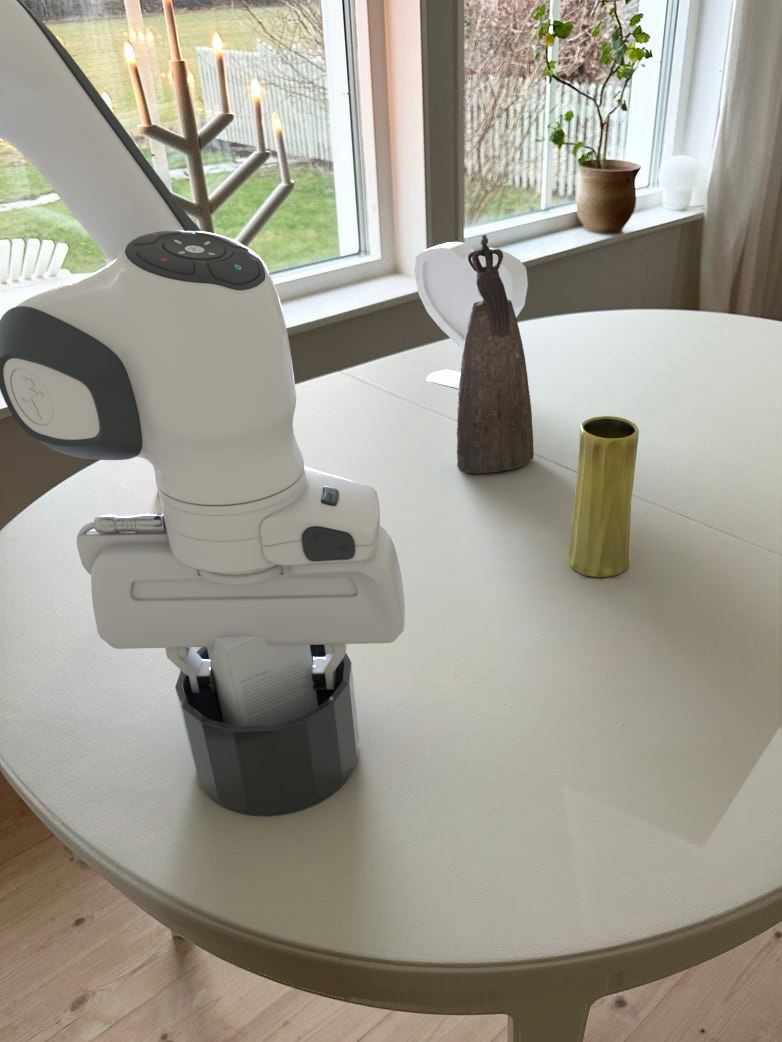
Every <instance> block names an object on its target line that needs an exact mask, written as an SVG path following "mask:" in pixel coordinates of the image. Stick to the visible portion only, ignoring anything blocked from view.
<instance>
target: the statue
mask: <svg viewBox="0 0 782 1042" xmlns="http://www.w3.org/2000/svg"><path fill="white" fill-rule="evenodd" d="M481 238H482V239H480V245H481V247H480V248H481V249H478V250H477V249H476V250H474V251H473V252H471V253H470V254H468V262H469V264H470V266H471V267H472V268H473V269H474V271H476V272H477V274H476V277H477V279H476V286H477V290H478V293H479V294H480V296H481V297H482V298H483V300H482V301H479V302H476V303H474V304H473V306H472V310H471V314H470V318H469V323H468V327H467V333H466V338H465V344H464V350H463V356H462V355H461V361H460V362H461V364H460V366H461V367H460V373H461V374H460V383H459V389H458V392H457V393H458V394H457V396H458V398H457V400H458V401H457V419H456V422H457V424H456V425H457V426H456V441H457V442H456V460H457V463H456V466H457V468H458V470H459V471H461V472H465V473H466V474H477V475H479V474H488V473H497V472H503V471H504V472H505V471H510V470H515V469H517V468H520V467H522V466H524V465H527V464H528V463H529V462H531V461H533V459H534V458H535V453H534V451H535V450H534V449H535V448H534V429H533V413H532V404H531V403H532V401H531V395H530V386H529V379H528V378H529V377H528V371H527V363H526V362H527V361H526V356H525V351H524V344H523V341H522V335H521V332H520V327H519V323H518V319H517V318H516V316H515V312H514V309H513V305H512V301H511V300H507V296H506V292H505V288H504V285H503V282H502V280H501V278H500V276H499V271H498V269H499V268H500V265H501V263H502V260H503V252H502V251H503V250H502V249H500V248H496V249H495V250H494V249H493V250H492V249H489V248H490V247H489V246H488V244H489V238H488V236H487V234H483V235H482V236H481ZM501 250H502V251H501ZM493 254H496V255H497V256H498V262H497V264H496V265H495V266H493ZM478 256H484V257H485V260H486V267H482V265H481V263H480V261H479V257H478ZM471 257H472V261H471ZM472 262H473V263H472Z"/></svg>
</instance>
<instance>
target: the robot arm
mask: <svg viewBox="0 0 782 1042" xmlns="http://www.w3.org/2000/svg"><path fill="white" fill-rule="evenodd" d="M0 139H1V140H3V141H4V142H6V143H7V144H9V145H10V146H12V147H13V148H15V149H16V150H17V151H18V152H19V153H20V154H22V155H23V157H25V158H26V159H27V160H28V161H29V162H30V163H31V164H32V165H33V166H34V167H35V168H36V169H37V171H38V172H39V173H40V175H41V176H42V177H43V178H44V180H45V181H46V183H48V185H49V186H50V188H51V189H52V190H53V191H54V193H55V194H56V195H57V196H58V197H59V199H60V200H61V201H62V203H63V204H64V205H65V207H66V208H67V209H68V210H69V212H70V213H71V215H72V216H73V217H74V218H75V220H76V221H77V222H78V223H79V224H80V226H81V227H82V228H83V230H85V232H86V233H87V235H88V236H89V237H90V239H91V240H92V241H93V242H94V244H95V245H96V246H97V248H98V249H99V250H100V251H101V253H102V255H104V256H105V258H106V259H107V260H108V262H109V263H108V264H107V265H105V266H104V267H102V268H101V269H99V270H98V271H96V272H94V273H92V274H90V275H87V276H85V277H82V278H78V279H76V280H74V281H71V282H68V283H65V284H62V285H59V286H57V287H54V288H51V289H48V290H46V291H44V292H41V293H38V294H35V295H33V296H30V297H28V298H27V299H25V300H23V301H22V302H20V303H19V304H17V305H16V306H14V307H11V308H9V309H8V310H6V311H5V313H3V315H2V316H1V317H0V393H1V396H2V398H3V400H4V402H5V404H6V406H7V408H8V410H9V412H10V414H11V415H12V417H13V419H14V420H15V422H16V423H17V424H18V425H19V427H20V428H21V429H22V430H23V431H24V432H25V433H26V434H27V435H29V436H30V437H31V438H32V439H34V440H36V441H37V442H39V443H40V444H42V445H44V446H46V447H47V448H49V449H51V450H53V451H55V452H58V453H61V454H63V455H66V456H69V457H73V458H79V459H85V460H96V461H97V460H98V461H99V460H100V461H125V460H132V459H134V458H141V459H144V460H146V461H147V462H149V463H150V464H151V466H152V467H153V470H154V477H155V484H156V489H157V493H158V497H159V502H160V503H159V504H160V507H161V512H162V513H156V514H155V513H154V514H137V515H129V516H128V515H126V516H118V515H115V514H106V515H99V516H96V517H95V518H94V520H93V521H92V522H89V523H86V524H85V525H83V526H82V527H81V528H80V529H79V531H78V533H77V535H76V548H77V551H78V555H79V559H80V563H81V565H82V566H83V568H84V570H85V571H86V572H87V573H88V574H89V575H90V586H91V599H92V608H93V615H94V620H95V625H96V630H97V633H98V636H99V638H100V639H102V641H104V642H105V643H106V644H108V645H109V647H111V648H114V649H118V650H127V649H128V650H129V649H131V650H132V649H133V650H134V649H165V653H166V657H167V659H168V660H169V661H170V662H171V663H172V664H173V665H175V666H176V667H177V668H178V669H179V670H180V672H181V671H182V672H183V673H184V674H186V675H187V676H189V680H190V684H191V688H192V692H193V693H208V692H215V681H214V677H213V672H212V668H211V663H210V660H203V659H202V658H201V657H200V656H199V655H198V653H197V651H196V650H195V648H201V647H214V646H215V643H214V640H215V638H217V637H238V636H263V637H264V638H263V639H264V641H265V642H266V644H267V645H270V646H273V645H320V644H324V646H325V653H326V656H325V657H320V658H314V659H313V667H312V672H311V675H312V681H313V690H334V689H335V682H336V668H337V667H338V665H339V664H340V662H341V660H342V659H343V657H344V656H345V654H347V646H348V645H360V644H361V645H363V644H364V645H365V644H391V643H393V642H395V641H396V640H397V639H398V638H399V637H400V636H401V635H402V633H403V632H404V630H405V622H406V604H405V592H404V583H403V578H402V572H401V567H400V562H399V559H398V558H399V557H398V554H397V551H396V547H395V544H394V542H393V540H392V537H391V536H390V534H389V532H388V531H387V530H386V529H385V528H384V527H383V526H382V525H381V508H380V500H379V495H378V491H376V489H375V488H374V487H373V486H371V485H368V484H366V483H364V482H363V483H362V482H359V481H355V480H351V479H348V478H344V477H341V476H336V475H333V474H329V473H326V472H323V471H319V470H316V469H313V468H311V467H307V466H305V461H304V457H303V453H302V451H301V449H300V446H299V444H298V441H297V440H296V437H295V432H294V431H295V430H294V418H295V417H294V416H295V411H296V406H297V389H296V382H295V381H296V380H295V374H294V367H293V366H294V365H293V360H292V353H291V346H290V340H289V335H288V330H287V325H286V319H285V316H284V311H283V307H282V304H281V299H280V296H279V294H278V291H277V288H276V286H275V283H274V280H273V278H272V276H271V274H270V272H269V270H268V267H267V266H266V264H265V263H264V261H263V260H262V258H261V257H260V256H259V255H258V254H257V253H256V252H255V251H253V250H252V249H251V248H249V247H247V246H245V245H244V244H242V243H241V242H238V241H236V240H235V239H232V238H230V237H227V236H224V235H221V234H217V233H212V232H208V231H203V230H202V229H201V228H200V227H199V226H198V225H197V224H196V223H195V222H194V221H193V219H192V218H191V217H190V216H189V214H188V213H187V212H186V211H185V210H184V209H183V207H182V206H181V205H180V203H179V202H178V200H177V199H176V198H175V196H174V195H173V194H172V192H171V191H170V189H169V188H168V186H167V185H166V184H165V183H164V181H163V179H162V178H161V176H159V174H158V173H157V171H156V170H155V169H154V167H153V166H152V164H151V163H150V161H149V160H148V159H147V158H146V156H145V155H144V154H143V152H142V151H141V150H140V148H139V146H138V145H137V144H136V142H135V141H134V139H133V138H132V137H131V135H130V134H129V132H128V131H127V130H126V129H125V127H124V126H123V125H122V123H121V121H120V120H119V119H118V117H117V116H116V115H115V113H114V112H113V110H111V108H110V107H109V105H108V104H107V103H106V101H105V100H104V98H103V97H102V95H101V94H100V93H99V91H98V90H97V88H95V86H94V84H93V83H92V82H91V81H90V79H89V78H88V77H87V75H86V74H85V72H84V71H83V70H82V68H81V67H80V66H79V64H78V63H77V62H76V61H75V59H74V58H73V56H72V55H71V54H70V52H68V50H67V49H66V48H65V46H64V45H63V44H62V43H61V42H60V40H59V39H58V38H57V37H56V35H55V34H54V33H53V32H52V30H50V28H49V27H48V26H47V25H46V23H44V22H43V20H41V19H40V18H39V16H37V14H36V13H35V12H34V11H32V10H31V9H30V8H29V7H28V6H27V5H25V4H24V3H23V2H22V1H21V0H0Z"/></svg>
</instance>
